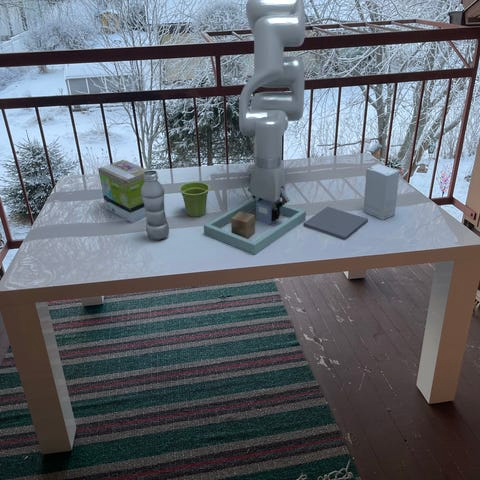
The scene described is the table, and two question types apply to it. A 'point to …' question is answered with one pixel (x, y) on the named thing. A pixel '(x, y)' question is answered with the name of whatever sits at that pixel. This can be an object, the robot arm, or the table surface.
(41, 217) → the table surface
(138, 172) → the tea box
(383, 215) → the skincare box
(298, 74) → the robot arm
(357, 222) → the mat
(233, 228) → the walnut block
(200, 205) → the plant pot
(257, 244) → the tray
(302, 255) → the table surface
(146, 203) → the plastic bottle
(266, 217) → the slate box
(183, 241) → the table surface
